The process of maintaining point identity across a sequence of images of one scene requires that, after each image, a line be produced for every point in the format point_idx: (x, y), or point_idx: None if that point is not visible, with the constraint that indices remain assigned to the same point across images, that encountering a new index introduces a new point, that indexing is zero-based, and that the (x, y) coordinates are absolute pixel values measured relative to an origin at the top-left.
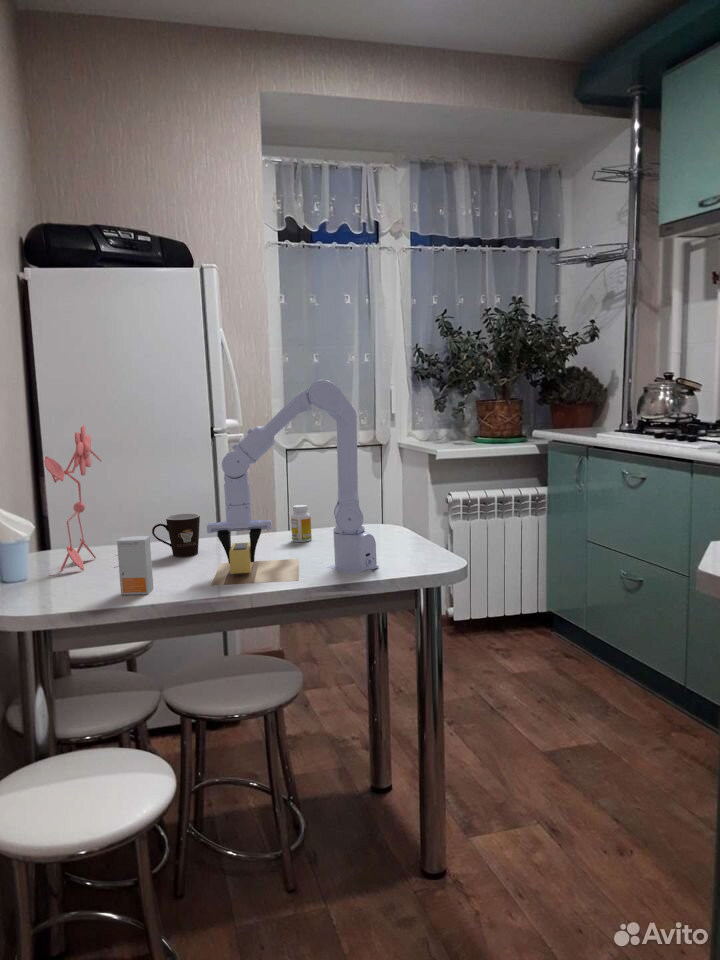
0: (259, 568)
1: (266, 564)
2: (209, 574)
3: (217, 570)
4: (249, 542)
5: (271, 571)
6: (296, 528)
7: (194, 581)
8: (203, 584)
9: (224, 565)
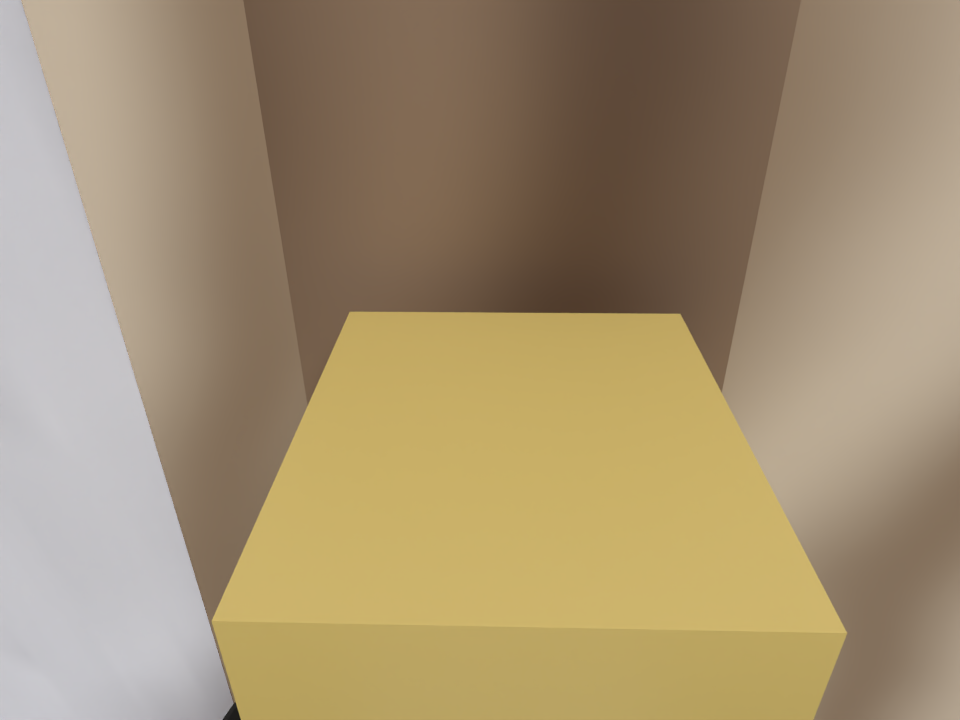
0: (751, 398)
1: (914, 181)
2: (61, 392)
3: (134, 372)
4: (768, 648)
5: (877, 559)
6: None
7: (19, 608)
8: (162, 698)
9: (133, 67)
